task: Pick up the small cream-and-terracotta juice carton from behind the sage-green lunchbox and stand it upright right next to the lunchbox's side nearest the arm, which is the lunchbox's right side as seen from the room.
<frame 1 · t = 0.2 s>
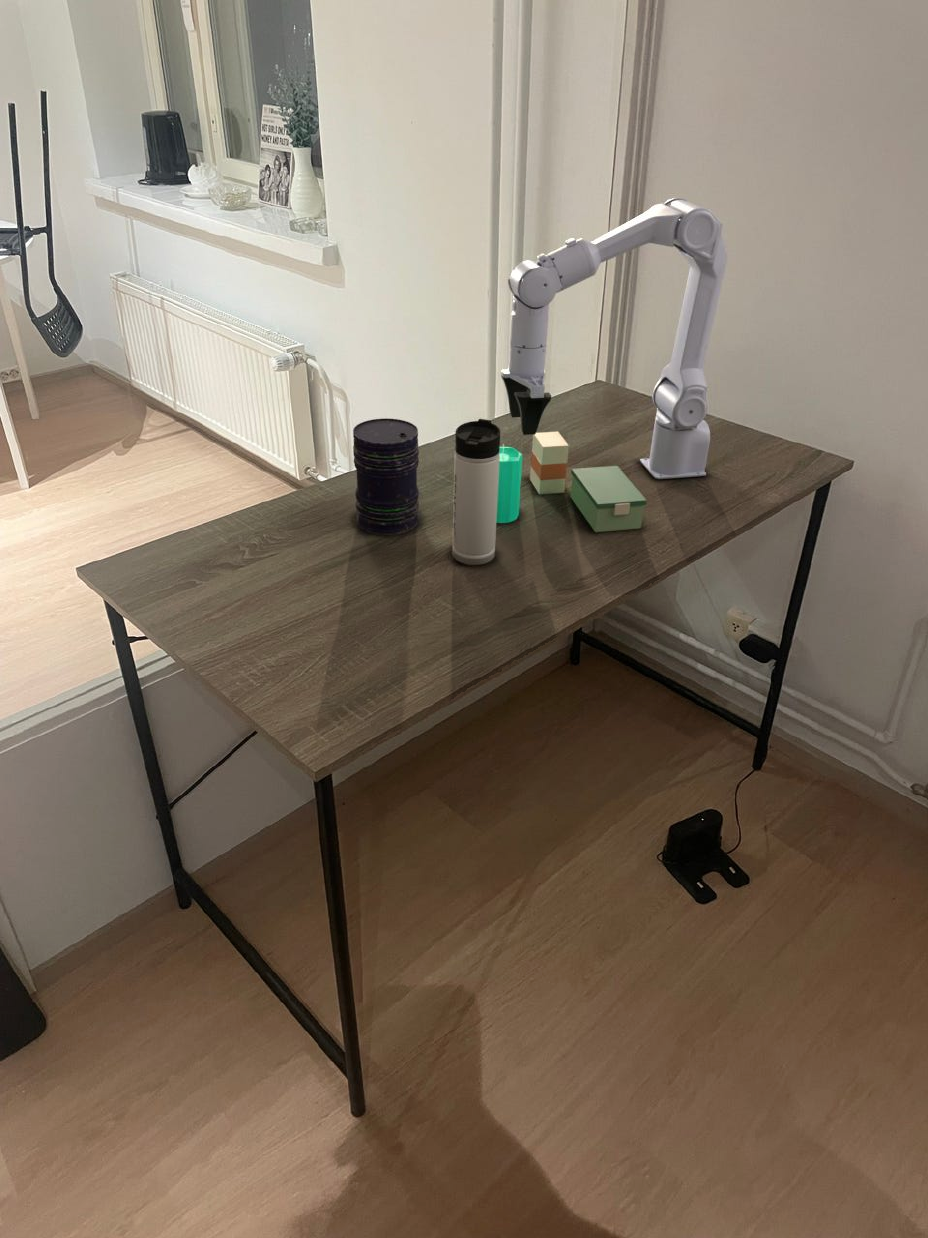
hand: (523, 424, 151), 10 cm above the table, tool pointing down, fingers open, 7 cm apart
candle: (499, 515, 146), on the table
travel mug: (473, 555, 135), on the table
juice carton: (546, 485, 155), on the table
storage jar: (387, 521, 143), on the table
lunchbox: (604, 512, 147), on the table
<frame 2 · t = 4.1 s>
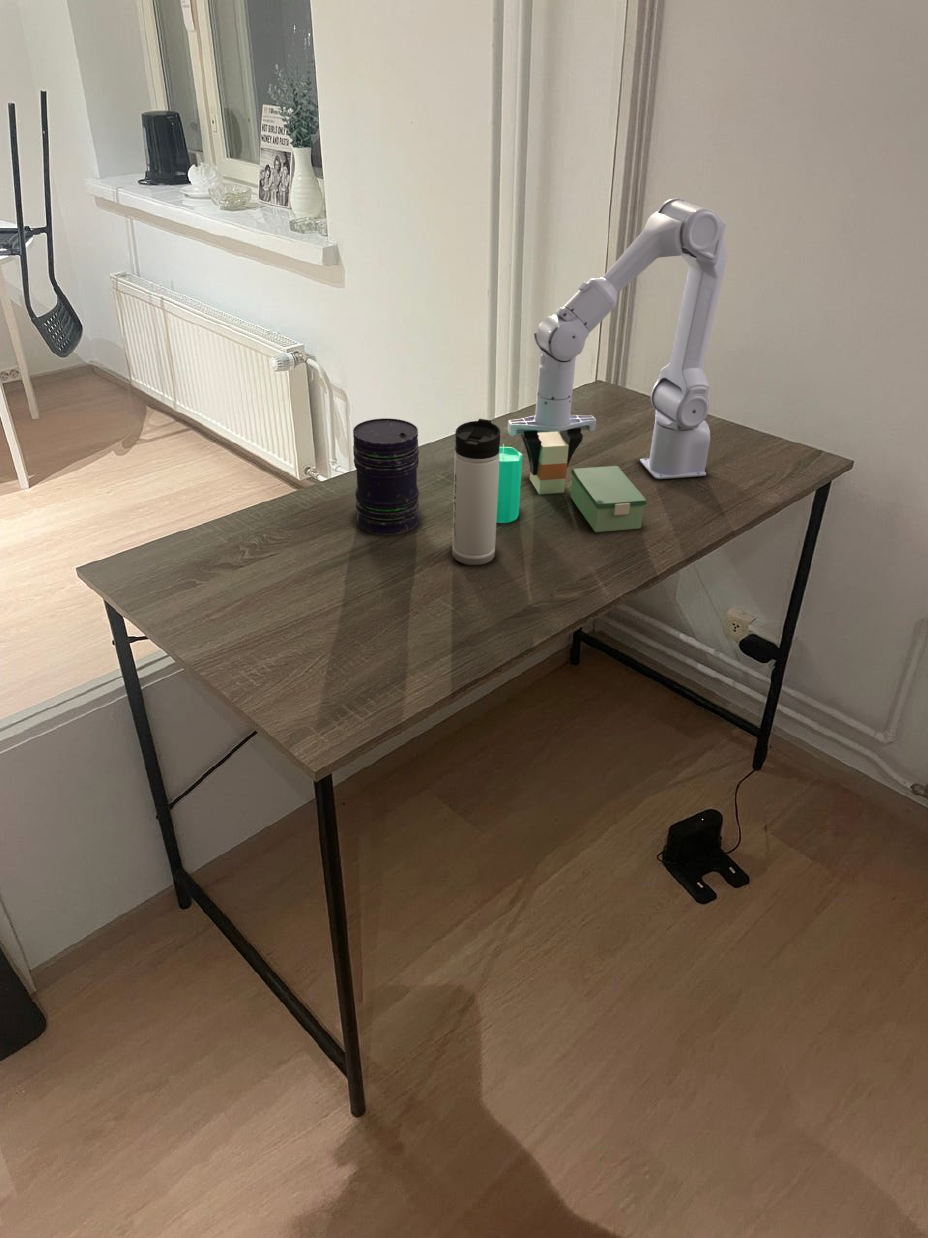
hand: (548, 471, 154), 3 cm above the table, tool pointing down, fingers closed on juice carton, 4 cm apart
juice carton: (546, 485, 155), on the table, touching gripper
everything else where it was.
when the fingers open (3 cm above the table, at t = 9.2 s): juice carton stays where it is, on the table.
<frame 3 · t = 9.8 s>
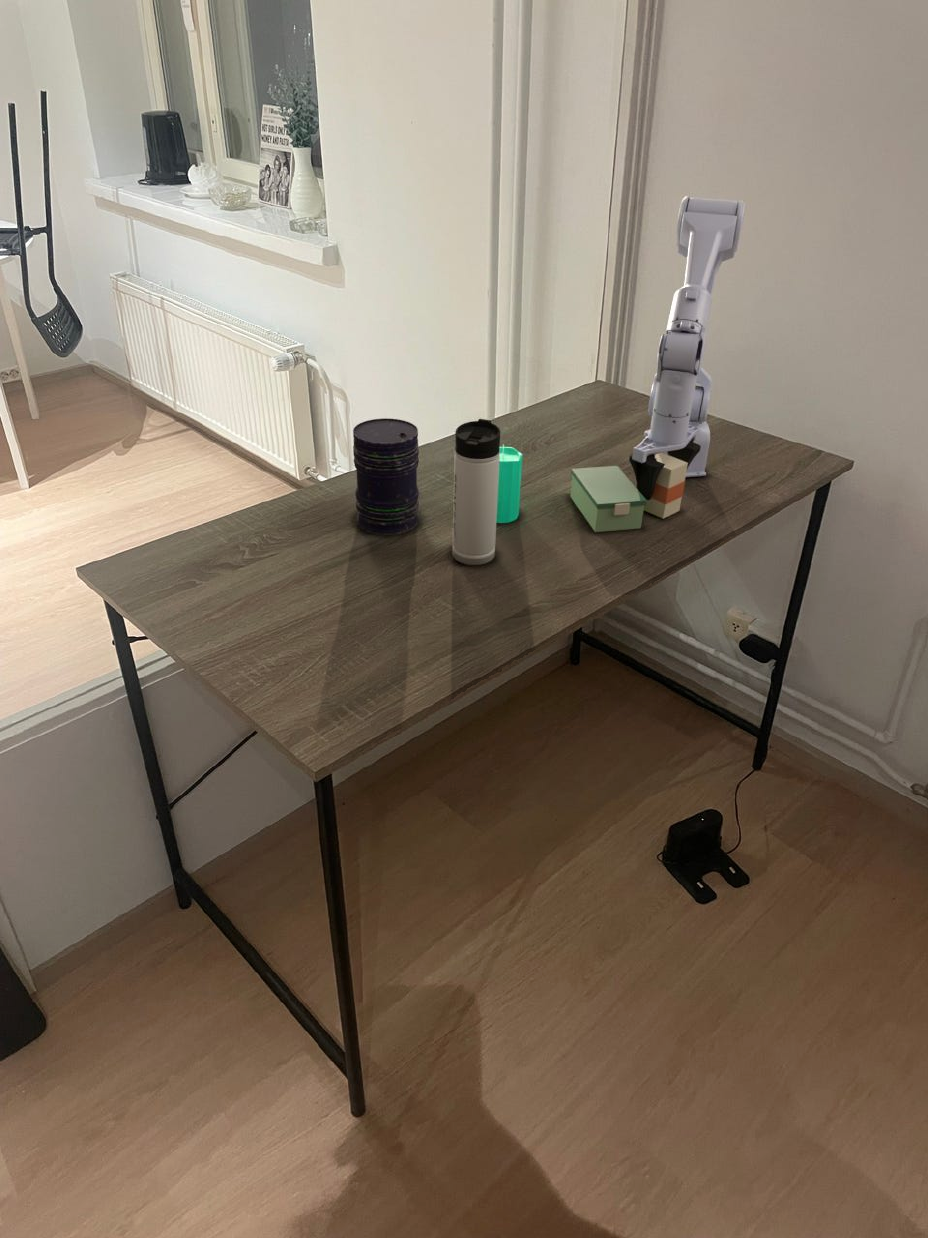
hand: (659, 491, 147), 3 cm above the table, tool pointing down, fingers open, 7 cm apart
juice carton: (656, 508, 149), on the table
everything else where it was.
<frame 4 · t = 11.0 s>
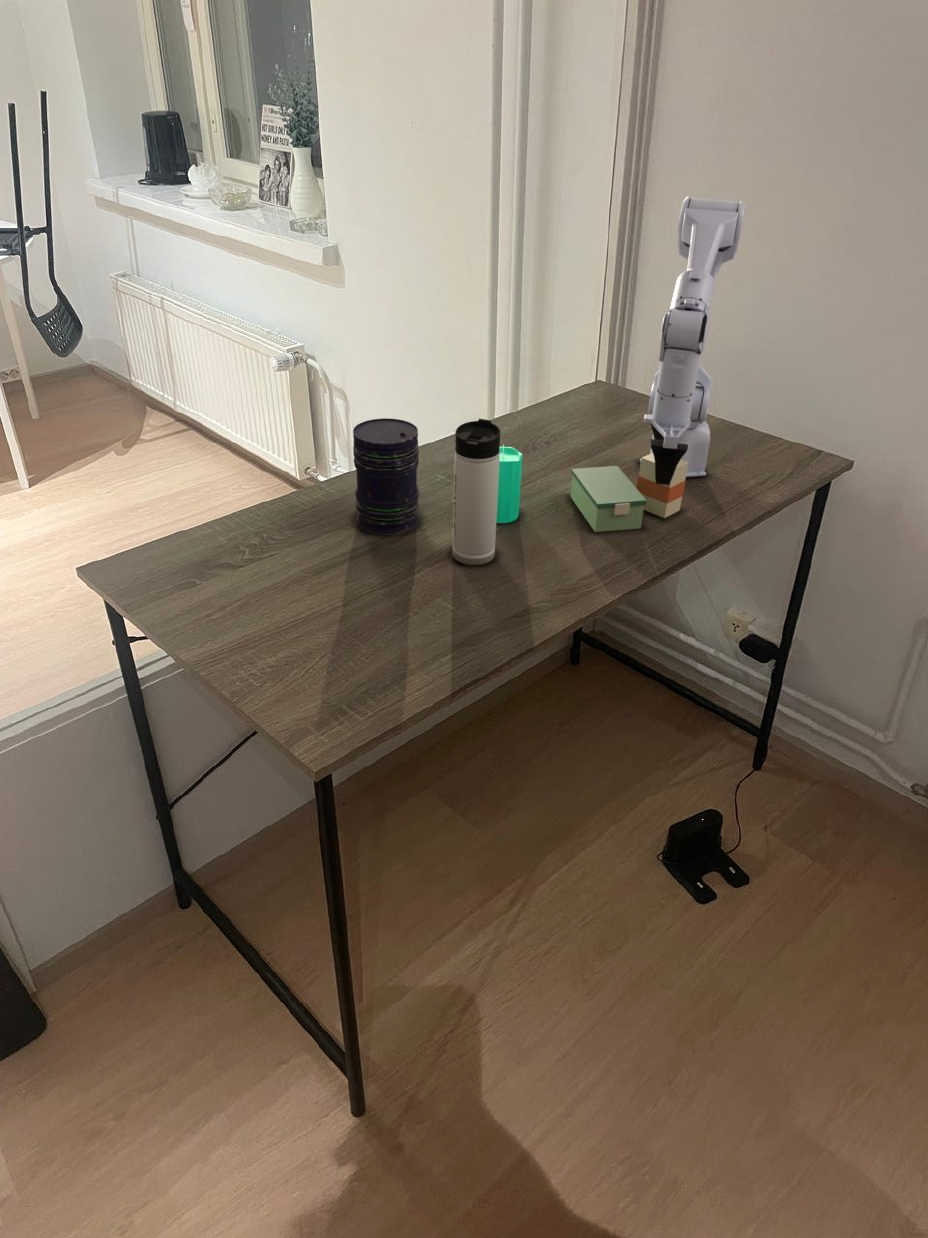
hand: (662, 473, 146), 6 cm above the table, tool pointing down
juice carton: (656, 508, 149), on the table, touching gripper
everything else where it was.
when the fingers open (7 cm above the table, at t = 11.7 s): juice carton stays where it is, point 1 cm above the table.
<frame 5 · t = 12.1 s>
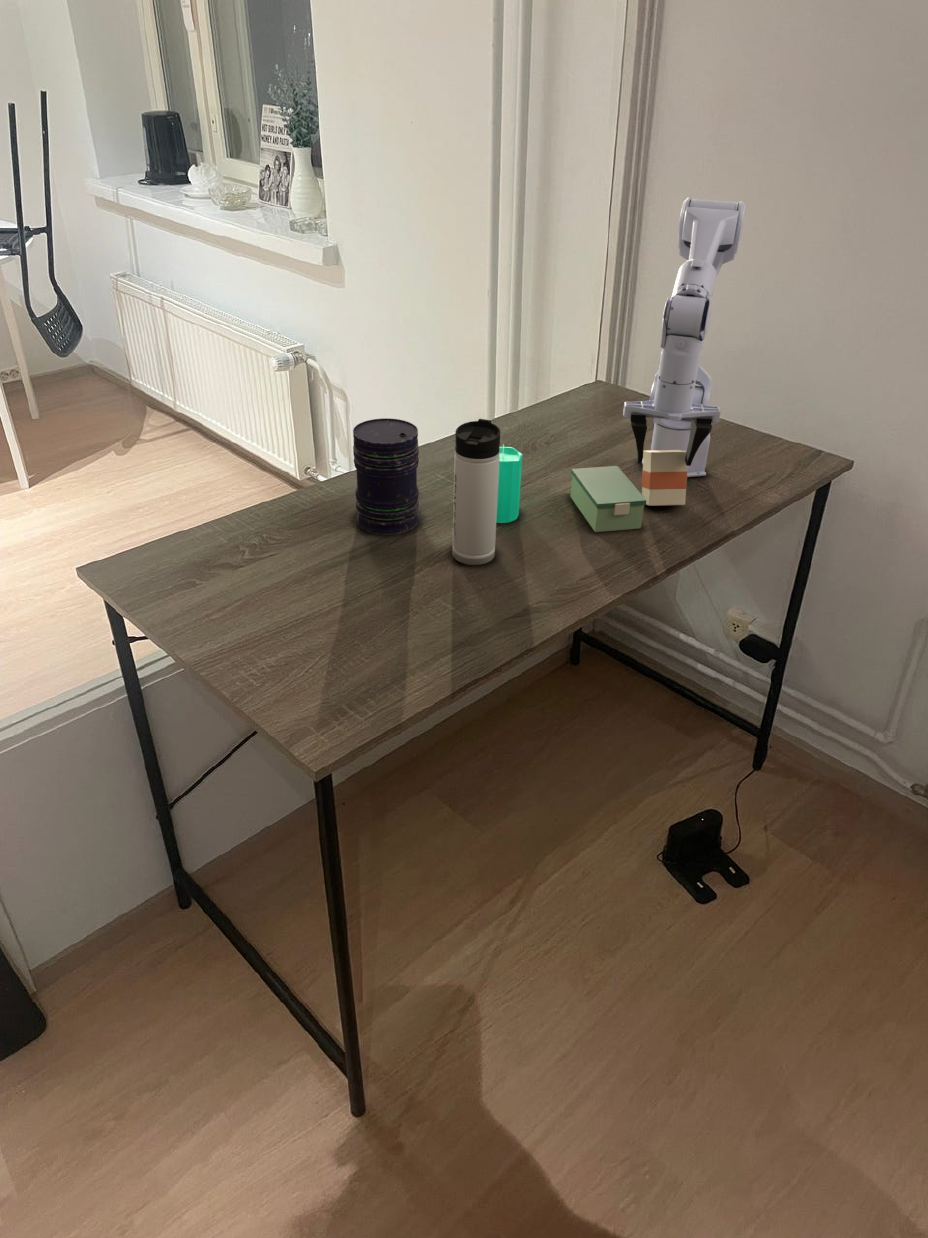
hand: (663, 461, 145), 8 cm above the table, tool pointing down, fingers open, 7 cm apart
juice carton: (663, 503, 149), point 1 cm above the table, tilted 20°
everything else where it was.
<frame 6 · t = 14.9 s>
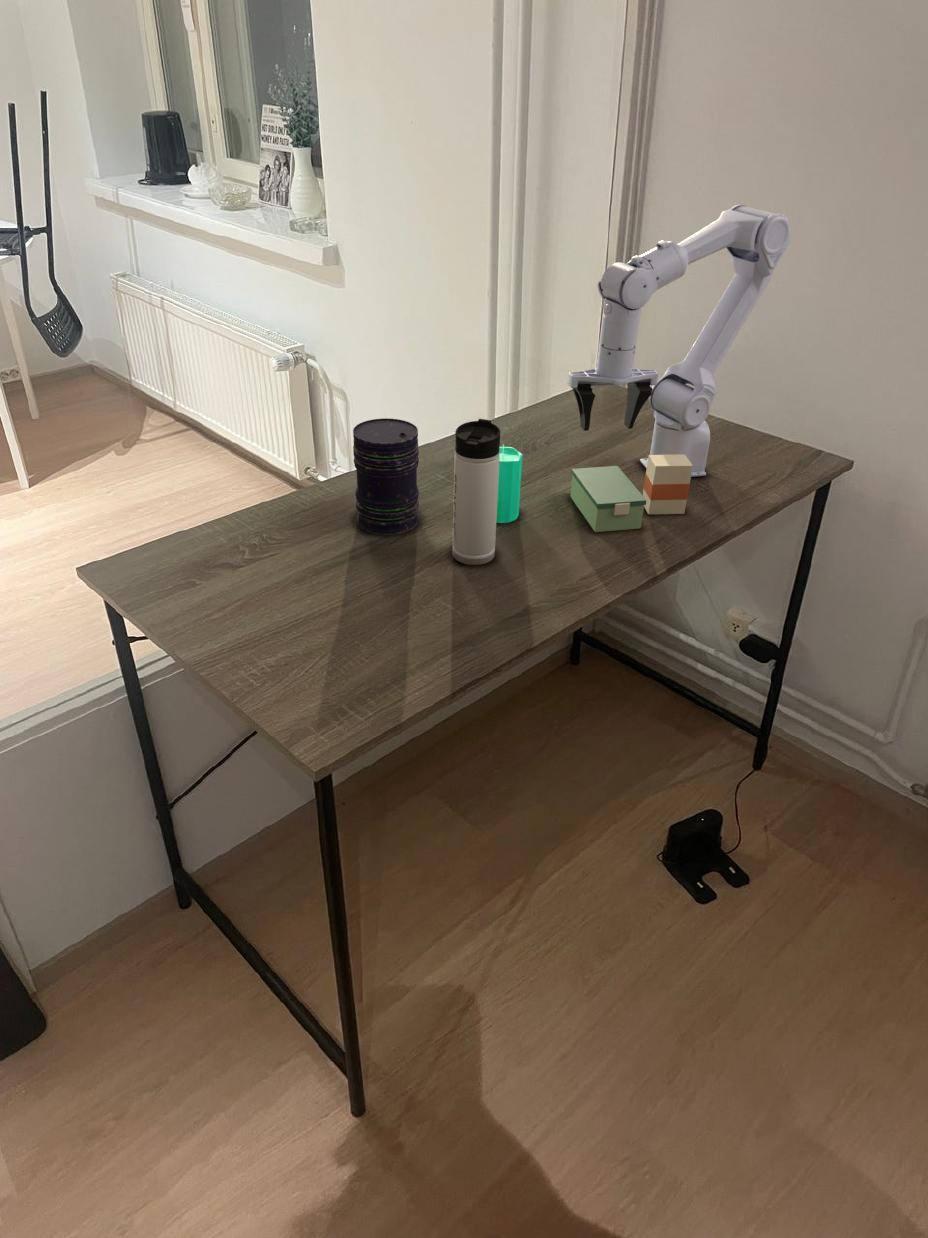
hand: (606, 427, 150), 10 cm above the table, tool pointing down, fingers open, 7 cm apart
juice carton: (662, 508, 149), on the table
everything else where it was.
at the end: juice carton inside the target area on the table beside the lunchbox (0.6 cm from its centre), on the table; juice carton tilted 0°; the gripper is holding nothing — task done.
